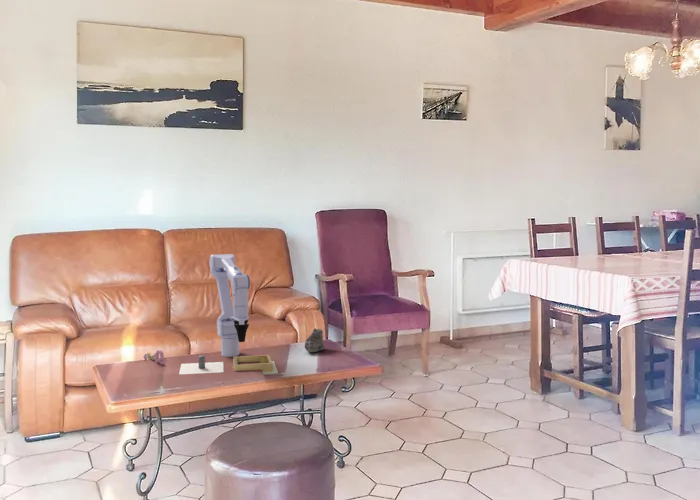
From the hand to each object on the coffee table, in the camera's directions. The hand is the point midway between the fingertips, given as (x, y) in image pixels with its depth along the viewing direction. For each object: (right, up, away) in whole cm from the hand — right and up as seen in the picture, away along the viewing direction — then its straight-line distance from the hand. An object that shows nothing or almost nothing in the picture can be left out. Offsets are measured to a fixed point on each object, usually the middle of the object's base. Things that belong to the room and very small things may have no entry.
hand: (241, 340), depth 256 cm
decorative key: (-36, -10, +5) cm, 38 cm away
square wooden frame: (+5, -10, -4) cm, 12 cm away
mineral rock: (+27, -9, +27) cm, 39 cm away
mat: (+5, -11, -4) cm, 12 cm away
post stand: (-14, -11, -8) cm, 19 cm away
